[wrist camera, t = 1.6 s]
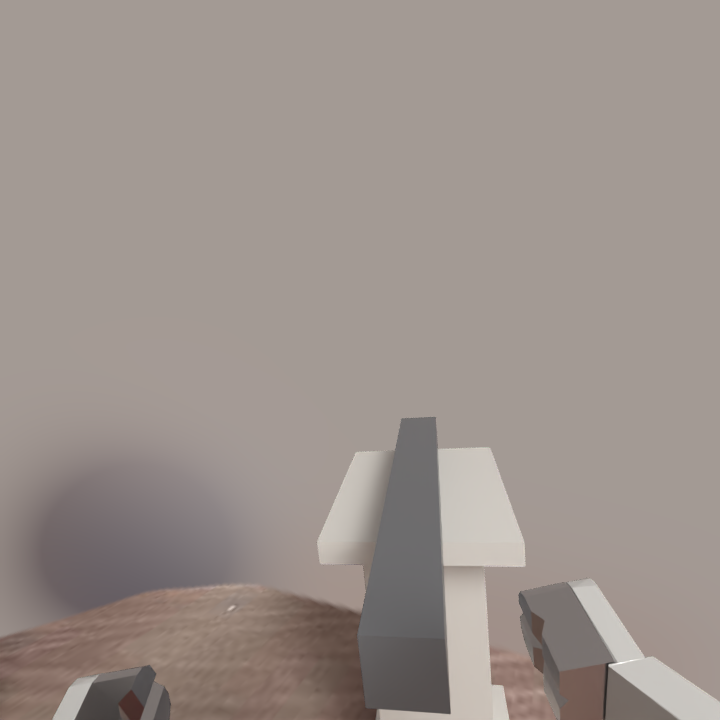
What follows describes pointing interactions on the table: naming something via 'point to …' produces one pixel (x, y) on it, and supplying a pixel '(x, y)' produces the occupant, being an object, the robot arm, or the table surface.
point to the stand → (460, 557)
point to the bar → (408, 585)
